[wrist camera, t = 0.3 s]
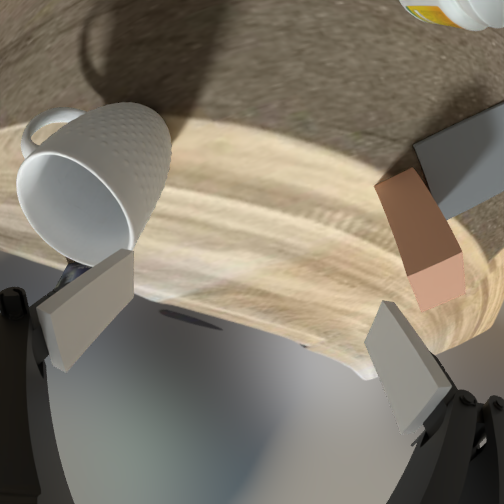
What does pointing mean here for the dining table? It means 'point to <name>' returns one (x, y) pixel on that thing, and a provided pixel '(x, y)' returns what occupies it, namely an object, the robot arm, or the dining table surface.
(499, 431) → the robot arm
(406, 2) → the supplement bottle
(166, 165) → the mug
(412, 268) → the terracotta block
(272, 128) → the dining table surface
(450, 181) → the mat
